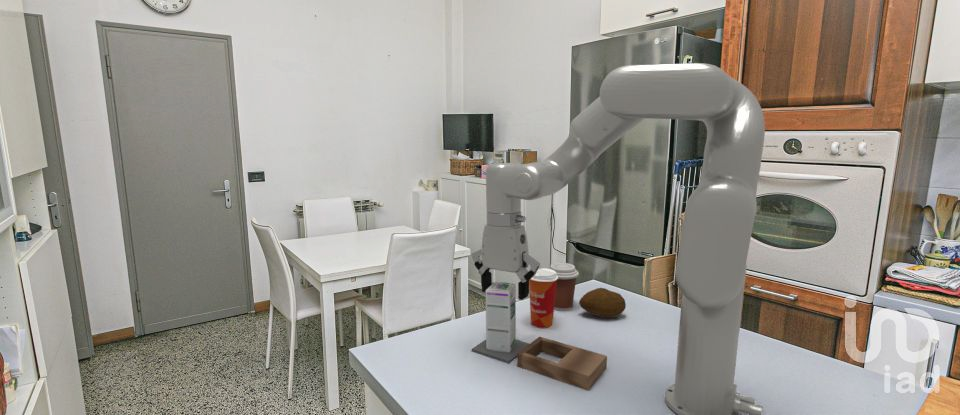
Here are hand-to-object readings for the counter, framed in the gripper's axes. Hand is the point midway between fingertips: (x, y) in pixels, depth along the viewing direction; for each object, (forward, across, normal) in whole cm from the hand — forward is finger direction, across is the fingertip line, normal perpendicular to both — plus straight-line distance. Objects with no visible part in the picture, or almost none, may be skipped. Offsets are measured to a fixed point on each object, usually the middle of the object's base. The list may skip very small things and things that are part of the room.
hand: (504, 294), depth 105 cm
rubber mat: (+13, +1, 0) cm, 13 cm away
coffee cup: (+14, +1, -32) cm, 35 cm away
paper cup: (+14, 0, -18) cm, 23 cm away
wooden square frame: (+14, -14, 0) cm, 20 cm away
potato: (+14, -11, -32) cm, 37 cm away
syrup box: (+13, +1, 0) cm, 13 cm away
